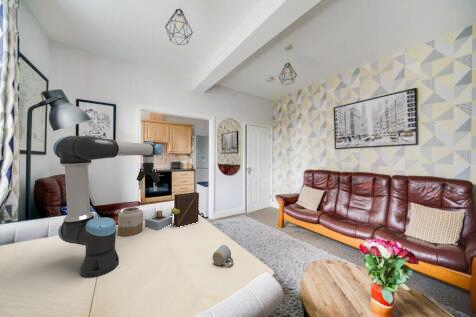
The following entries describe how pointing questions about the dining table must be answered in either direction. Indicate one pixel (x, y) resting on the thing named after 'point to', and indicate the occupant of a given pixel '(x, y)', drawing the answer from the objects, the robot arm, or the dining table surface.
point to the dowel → (158, 214)
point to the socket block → (158, 222)
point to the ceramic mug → (222, 256)
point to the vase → (130, 222)
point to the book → (186, 208)
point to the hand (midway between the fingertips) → (147, 190)
